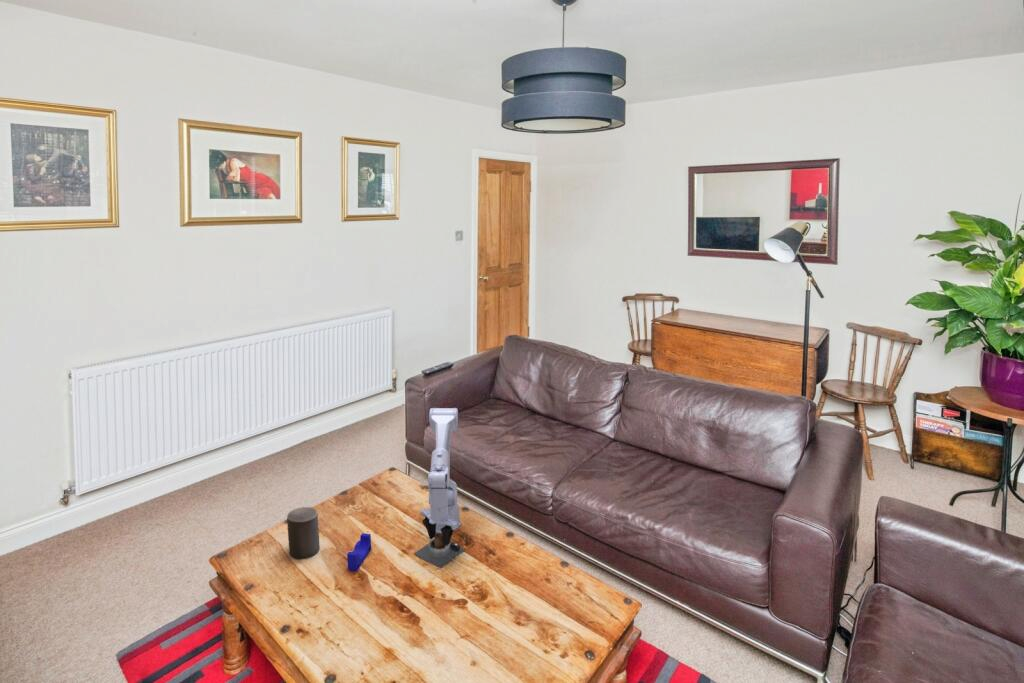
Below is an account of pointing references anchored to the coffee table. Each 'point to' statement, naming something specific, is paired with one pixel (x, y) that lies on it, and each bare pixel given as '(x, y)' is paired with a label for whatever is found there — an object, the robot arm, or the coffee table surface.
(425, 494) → the coffee table surface
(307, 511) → the pillar candle
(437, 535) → the dowel
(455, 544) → the cup bracket
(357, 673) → the coffee table surface
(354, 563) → the cable clip
